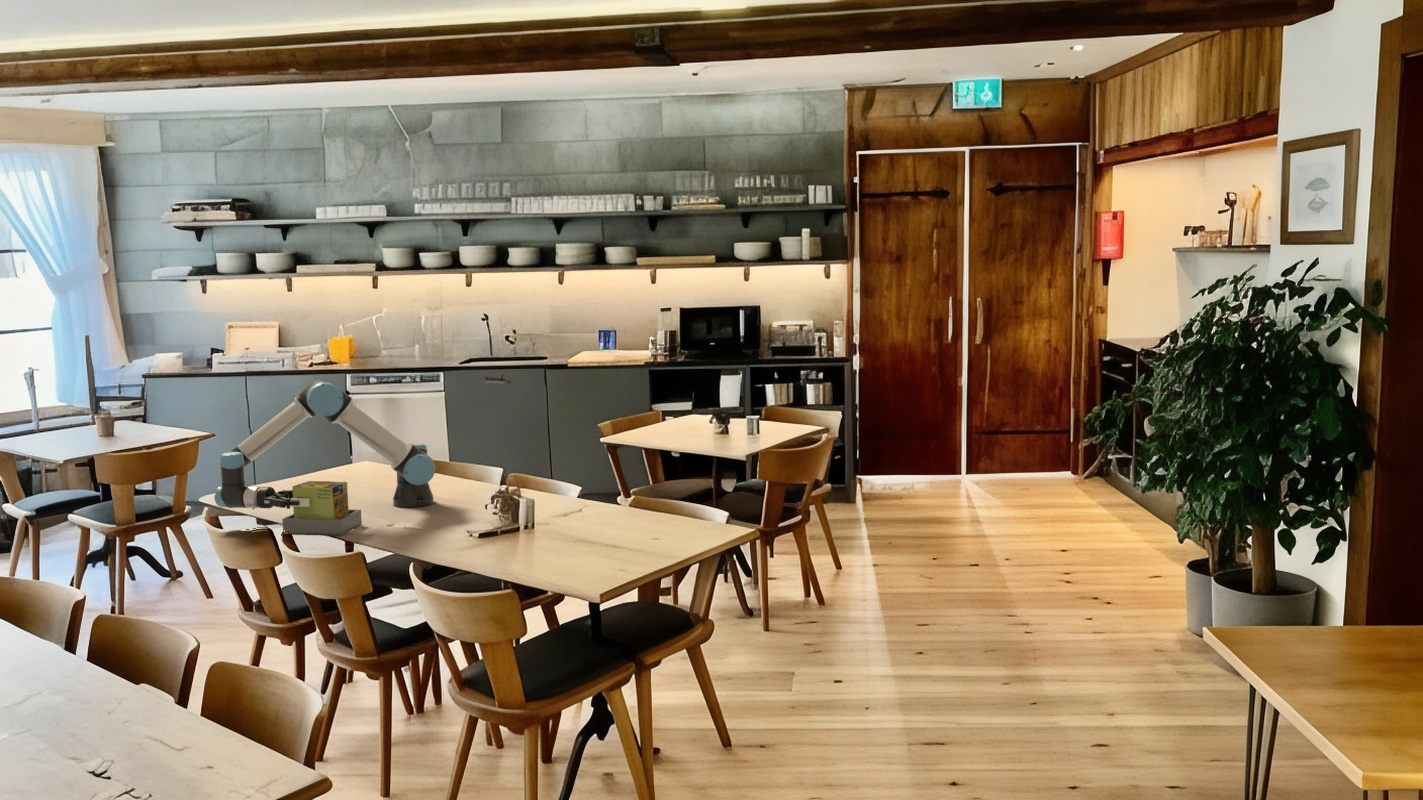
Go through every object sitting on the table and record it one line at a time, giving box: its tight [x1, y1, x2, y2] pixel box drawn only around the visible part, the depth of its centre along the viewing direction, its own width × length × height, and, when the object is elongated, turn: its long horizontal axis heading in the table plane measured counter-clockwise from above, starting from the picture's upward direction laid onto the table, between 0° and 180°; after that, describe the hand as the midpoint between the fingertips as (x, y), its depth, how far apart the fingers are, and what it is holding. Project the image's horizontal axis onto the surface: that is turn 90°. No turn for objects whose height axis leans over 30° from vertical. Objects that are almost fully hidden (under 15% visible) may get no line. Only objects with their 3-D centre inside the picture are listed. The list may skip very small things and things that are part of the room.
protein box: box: [291, 480, 349, 519], centre depth 376 cm, size 10×15×16 cm
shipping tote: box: [281, 508, 363, 537], centre depth 377 cm, size 21×16×6 cm
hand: (318, 498), depth 375 cm, fingers open, 13 cm apart
